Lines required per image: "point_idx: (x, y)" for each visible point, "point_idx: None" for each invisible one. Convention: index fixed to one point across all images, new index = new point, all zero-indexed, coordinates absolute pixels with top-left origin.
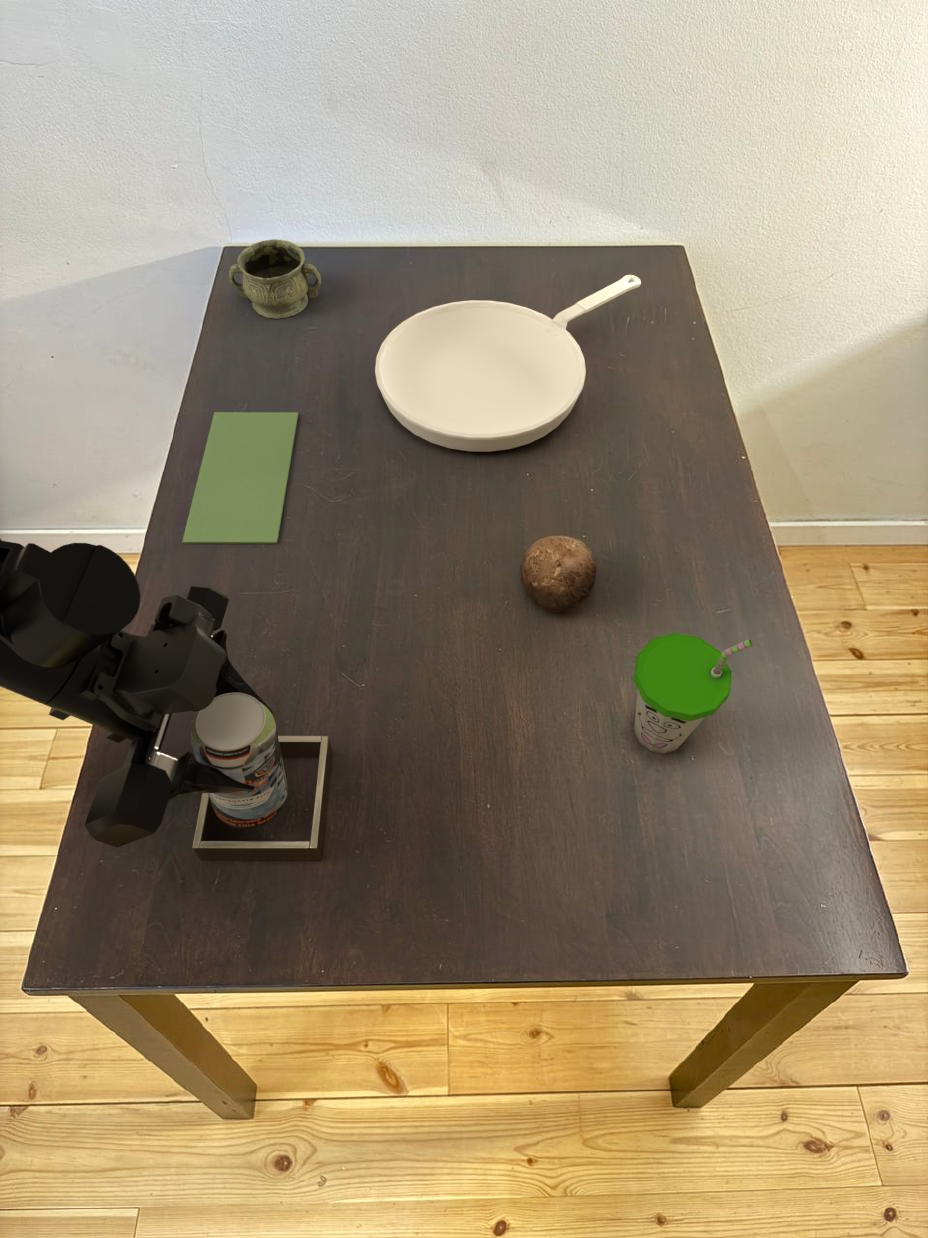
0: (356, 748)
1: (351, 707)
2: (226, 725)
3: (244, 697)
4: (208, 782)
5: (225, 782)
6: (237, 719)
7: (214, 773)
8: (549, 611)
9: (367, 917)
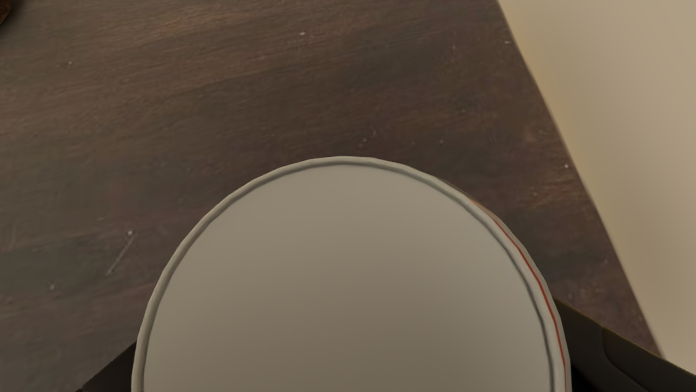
0: None
1: (172, 240)
2: (369, 365)
3: (162, 331)
4: (664, 363)
5: (561, 307)
6: (313, 312)
7: (592, 354)
8: (8, 6)
9: (481, 131)
